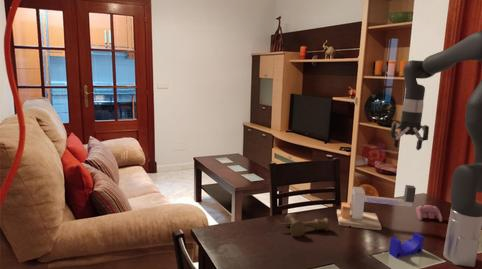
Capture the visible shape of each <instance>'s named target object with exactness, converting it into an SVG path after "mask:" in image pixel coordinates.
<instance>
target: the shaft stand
mask: <svg viewBox="0 0 482 269" xmlns="http://www.w3.org/2000/svg"><path fill="white" fill-rule="evenodd" d="M351 191H352V192H351V200H350V207H351V208H350V217H349V219H345V218H342V214H341V208H340V209H339V208H338V209H336V215H337V220H338V226H342V227H349V226H351V227H350V228H359V229H366V230H367V229H368V230H374V231H375V230H377V231H381V230H382V228H383V227H382V225H381V222H380V220H379V217H378V216H377V214H376V213H374V212H366V211H364V208H365V196H366V192H365V190H364V187H360V186H352V190H351Z"/></svg>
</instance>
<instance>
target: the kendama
mask: <svg viewBox="0 0 482 269" xmlns="http://www.w3.org/2000/svg"><path fill="white" fill-rule="evenodd" d="M330 224H331V223H330V220H329V218H328V217H324V218H323V219H318V218H315V219H313V220H309V221H303V222H302V221H299V216H298V215H297V214H296V213H293V212H291V213H288V214H286V216H285V217H284V222H280V223H278V226H287V227H290V228H289V232H290V234H291V236H292V237H302V236H304V235H305V233H306V228H310V229H315V231H319V230H324V231H325V232H329V230H330V226H331V225H330Z"/></svg>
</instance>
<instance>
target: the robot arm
mask: <svg viewBox="0 0 482 269" xmlns="http://www.w3.org/2000/svg"><path fill="white" fill-rule="evenodd" d="M466 61H476V62H482V30H479V31H475V32H474V33H471V34H469V35H468V36H467V37H465V38H463V39H461V40H460V41H459V42H457V43H456V44H453V45H452V46H450V47H448V48H446V49H444V50H441V51H439V52H437V53H434V54H430V55H429V56H427V57H426V58H425V59H423V60H408V61H407V62H406V63H405V65H404V66H403V77H404V78H403V79H404V85H405V86H404V87H405V91H404V92H405V93H404V99H403V103H402V108H401V117H400V123H395V122H392V123H391V128H390V132H389V136H390V138H392V139H393V148H395V149H398V147H399V143H400V142H399V141H400V140H399V139H400V138H401V137H403V136H404V135H405V136H415V137H416V139H417V141H416V147H415V148H416V150H417V151H420V150H421V149H422V146H423V142H424V141H428V140H429V133H430V132H429V131H430V130H429V129H430V127H429V126H428V125H427V124H424V125H422V119H423V111H424V99H425V93H426V87H425V86H424V85H423V84H419V83H418V81H417V79H418V80H420V79H422V80H425V79H428V78H431V77H433V76H434V75H436V74H438V73H441V72H445V71H447V70H450V69H451V68H453V67H454V66H455V65H456V64H457V63H460V62H466ZM465 107H466V108H465V118H464V124H465V129H466V131H467V133H468V135H469V137H470V140H471V141H472V144H473V148H474V160H473V163H472V164H460V165H458V166H457V167H456V168H455V169H454V172H453V174H452V179H451V185H450V186H451V188H450V205H451V206H450V211H449V212H450V214H449V217H448V224H447V228H446V235H445V240H444V248H443V253H442V254H443V257H444V258H445V259H446V260H447V261H449V262H451V263H452V264H453V265H455V266H462V267H463V266H464V267H471V268H474V267H475V265H476V260H477V256H478V249H479V246H480V236H481V232H482V203H480V202H478V201H477V200H476V199H477V194H479V193H481V194H482V79H480V82H479V83H478V84H477V86H476V88H475V89H474V90H473V92H472V93H471V95H470V96H469V98H468V100H467V103H466V106H465ZM398 128H399V129H400V130H399V131H398V132H397V133H396V130H397V129H398ZM420 130H421V131H423V133H422V136H421V133H419V132H420Z"/></svg>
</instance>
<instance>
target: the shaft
mask: <svg viewBox="0 0 482 269" xmlns="http://www.w3.org/2000/svg"><path fill="white" fill-rule="evenodd" d="M404 187H405V188H404V193H403V199H402V198H391V197H383V196H382V197H381V196H374V195H373V196H371V195H365V201H364V203H374V204H382V205H389V206H390V205H391V206H392V205H393V206H402V207H410V208H413V205H414V203H415V197H416V196H415V195H416V187H415V186H414V185H409V184H405V186H404Z"/></svg>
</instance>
